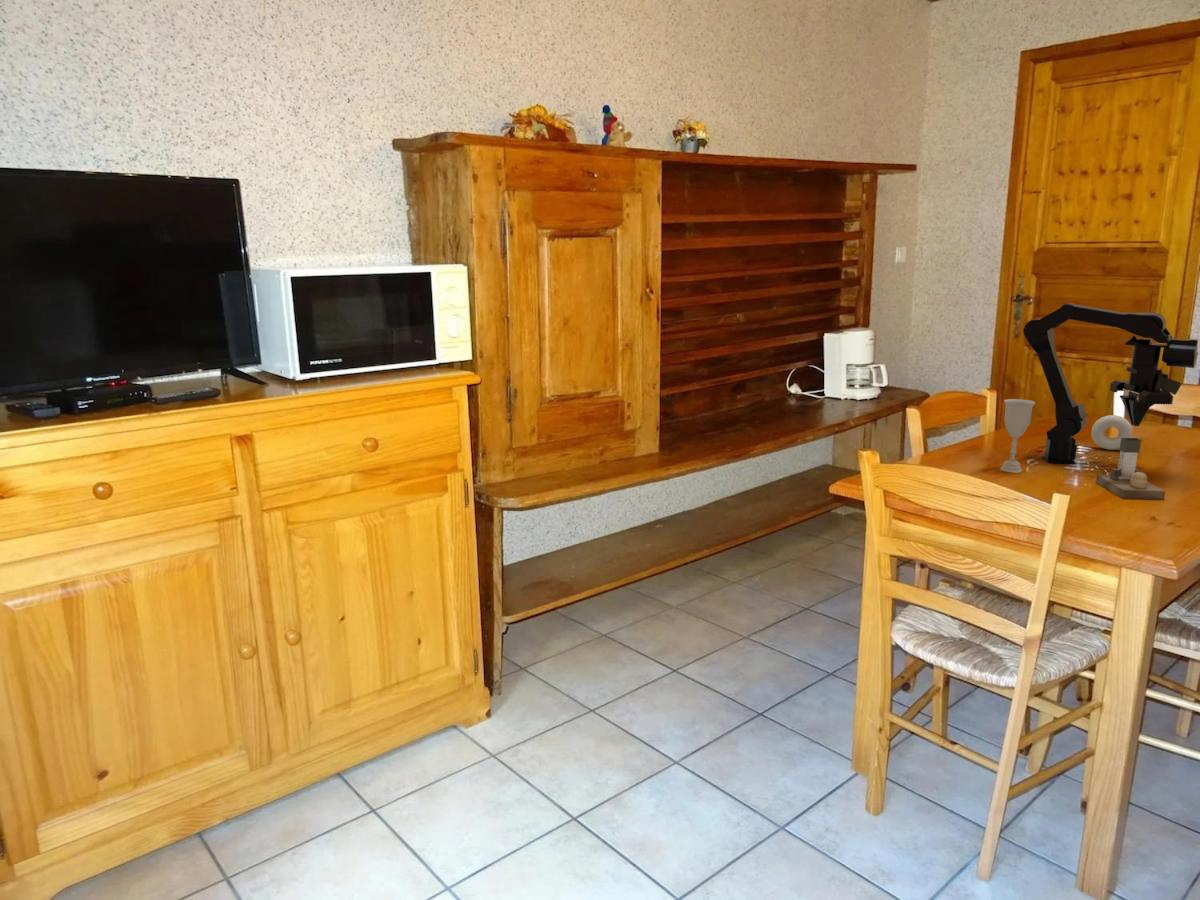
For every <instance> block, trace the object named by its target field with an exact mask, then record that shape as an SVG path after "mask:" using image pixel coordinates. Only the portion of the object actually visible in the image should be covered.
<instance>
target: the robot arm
mask: <svg viewBox="0 0 1200 900" xmlns="http://www.w3.org/2000/svg"><path fill="white" fill-rule="evenodd" d="M1069 320H1072V321H1079V322H1084V323H1089V324H1097V325H1099V326H1100V325H1102V326H1106V327H1111V328H1112V327H1113V328H1117V329H1120V330H1124V331H1126V332H1128V333H1131V334H1133V336H1132V337H1131V338H1130V339H1129V340H1127V341H1125V342H1124V344H1125V346H1133V351H1132V357H1131V364H1130V366H1126V371H1127V372H1129V376H1128V380H1126V379H1125V380H1124V379H1122V380H1116V379H1114V381H1112V382H1111V383H1110V385H1109V391H1110V392H1112V393H1118V392H1123V394H1122V395H1119V398H1120V400H1121V401H1122V403H1123V406H1124V408H1125V412H1126V414H1127V416H1128V419H1129V423H1130V424H1131V426H1134V427H1140V425H1141V423H1142V421H1143V419H1144V417H1145V416H1146V415H1147V412H1148V411H1149V410H1150V408H1151V407H1152V406H1154V405H1173V403H1174V396H1176V395H1177V393H1178V391H1179V390H1180V388H1181V386H1182V382H1179V381H1177V380H1174V379H1172V378H1169V374H1167V373H1164V372H1163V371H1162V369H1160V368H1159V363H1160V359H1161V362H1163V363H1165V364H1166V365H1165V366H1166V367H1177V368H1188V369H1190V368H1191V369H1195V367H1196V364H1197V359H1198V355H1199V352H1198V350H1199V349H1198V348H1199V345H1198V344H1199V340H1198V339H1196V338H1194V339H1192V338H1191V339H1182V338H1181V339H1180V338H1179V339H1178V338H1174V337H1173V336H1172V333H1170V332H1169V330H1168V328H1167V321H1166V317H1165V316H1164V315H1162V314H1161V313H1159V312H1124V311H1123V312H1122V311H1116V310H1111V309H1110V310H1109V309H1105V308H1098V307H1092V306H1086V305H1082V304H1081V305H1080V304H1077V303H1073V302H1068V303H1066V304H1065V303H1064V304H1062V306H1061V307H1060V308H1057V309H1056V310H1054V311H1052V312H1050V313H1048V314H1047V315H1045V316H1043V317H1039V318H1035V319H1031V320H1029V321H1027V322H1026V324H1025V325H1024V327H1023V329H1022V330H1023V336H1024V337H1025V339H1026V341H1027V343H1028V344H1029V346H1030V347H1031V349H1032V350H1033V351H1034V352H1035V354H1036V355H1037V357H1038V360H1039V362H1040V365H1041V368H1042V371H1043V374H1044V376H1045V378H1046V381H1047V385H1048V387H1049V390H1050V393H1051V396H1052V398H1053V401H1054V409H1055V410H1054V412H1055V413H1054V414H1055V421H1056V423H1055V424H1056V425H1055V426H1052V427H1051V428H1050V429H1049V430H1047V431H1046V440H1045V448H1044V449H1045V450H1044V454H1042V455H1041V457H1042V458H1043V459H1044V458H1045V459H1044V460H1046V461H1047V462H1048V463H1052V464H1053V463H1054V464H1076V457H1077V451H1078V445H1077V444H1076V442H1077V439H1076V438H1075V436H1076V435H1077V434H1078V433H1080V432H1081V431H1083V429H1085V428H1086V426H1087V425H1088V424H1087V421H1088V420H1087V419H1088V418H1089V415H1088V414H1087V412H1086V410H1085V405H1084V402H1080V403H1079V404H1078V403H1077V402H1076V401H1075V399H1074V398H1073V395H1072V393H1071V391H1070V387H1069V384H1068V382H1067V379H1066V376H1065V373H1064V371H1063V368H1062V365H1061V362H1060V360H1059V359H1060V358H1059V356H1058V354H1057V351H1056V348H1055V347H1056V346H1055V345H1056V343H1055V342H1056V339H1055V338H1056V336H1055V332H1054V331H1055V330H1054V329H1057V328H1058V327H1060V326H1061V325H1063V324H1064V323H1066V322H1068V321H1069ZM1139 337H1142V338H1139ZM1153 340H1154V341H1155V343H1153ZM1162 348H1163V351H1162ZM1161 351H1162V355H1161ZM1160 357H1161V358H1160Z"/></svg>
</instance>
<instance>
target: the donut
mask: <svg viewBox="0 0 1200 900" xmlns="http://www.w3.org/2000/svg"><path fill="white" fill-rule="evenodd" d="M1132 426H1133V425H1131V422H1130V421H1128V420H1127V419H1126V418H1124V417H1122V416H1119V415H1116V414H1115V415H1114V414H1111V415H1105V416H1102V417H1100V418H1099V419H1097V420H1096V421H1095V422H1094V423H1093V425H1092V428H1091V438H1092V439H1093V442H1094V443H1095V444H1096V446H1098V447H1099V448H1102V449H1104V450H1108V451H1115V450H1116V451H1117V450H1119V449H1120V443H1121V438H1133V436H1134V429H1133V427H1132ZM1109 428H1115V429H1117V431H1118V435H1117V436H1115V437H1112V438H1111V437H1108V436H1107V434H1106V430H1107V429H1109Z"/></svg>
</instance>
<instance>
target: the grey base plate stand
mask: <svg viewBox="0 0 1200 900" xmlns="http://www.w3.org/2000/svg"><path fill="white" fill-rule="evenodd" d="M1119 472H1120V470H1118V468H1111V471H1110V474H1096V479H1095V484H1098V485H1099V486H1101V487H1103V488H1105V490H1108V491H1110V493H1112V494H1115V495H1116V496H1118V497H1119V498H1121V499H1127V500H1131V499H1133V500H1163V501H1164V500H1165V495H1166V490H1164V489H1162V488H1160V487H1159V486H1158V485H1157V486H1156V485H1155V484H1153V483H1151V482H1149V481H1147V485H1146V488H1145V489H1137V488H1132V487H1130V481H1131V477H1121V476H1119ZM1136 472H1142V470H1140V469H1138V468H1135V473H1136Z"/></svg>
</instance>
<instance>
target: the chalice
mask: <svg viewBox="0 0 1200 900" xmlns="http://www.w3.org/2000/svg"><path fill="white" fill-rule="evenodd" d="M1003 401H1004V404H1005V407H1004V408H1005V409H1004V418H1003V420H1004V424H1005V425H1004V426H1005V429H1006V431H1007V434H1008V436H1009V437H1012V442H1011V443H1010V446H1011V450H1009V453H1010V457H1009V459H1007V460H1005V461H1004V462H1003V464H1002V466H1001V467H1000V468H999V469H1000V471H1003V472H1006V473H1016V474H1017V473H1018V474H1019V473H1022V472H1023V470H1022V468H1021V467H1022V466H1021V464H1020V462H1019V461H1017V459H1016V455H1017V454H1018V451H1017V447H1018V446H1019V444H1018V439H1019V438H1021V437H1022V436H1023V434H1024V433H1025V432H1026V431H1027V430H1028V428H1029V425H1030V423H1031V421H1032V414H1033V413H1032V412H1033V407H1034V406H1035V404H1036V402H1035V401H1033V400H1030V399H1029V400H1028V399H1023V398H1022V399H1019V398H1018V399H1017V398H1008V399H1004V400H1003Z"/></svg>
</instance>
